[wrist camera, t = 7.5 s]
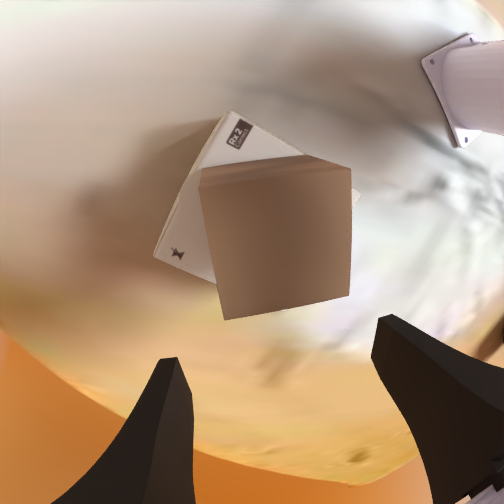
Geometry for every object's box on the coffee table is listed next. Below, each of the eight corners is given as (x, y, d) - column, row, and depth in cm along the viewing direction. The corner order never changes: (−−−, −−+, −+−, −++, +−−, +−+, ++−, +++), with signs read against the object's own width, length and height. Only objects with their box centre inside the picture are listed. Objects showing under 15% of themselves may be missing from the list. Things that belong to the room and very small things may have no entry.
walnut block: (306, 154, 12) (350, 168, 8) (311, 248, 14) (348, 295, 10) (202, 168, 12) (198, 188, 8) (218, 264, 14) (224, 320, 10)
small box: (267, 273, 20) (284, 316, 16) (162, 224, 18) (147, 258, 13) (327, 176, 18) (366, 194, 13) (221, 113, 16) (226, 106, 11)
